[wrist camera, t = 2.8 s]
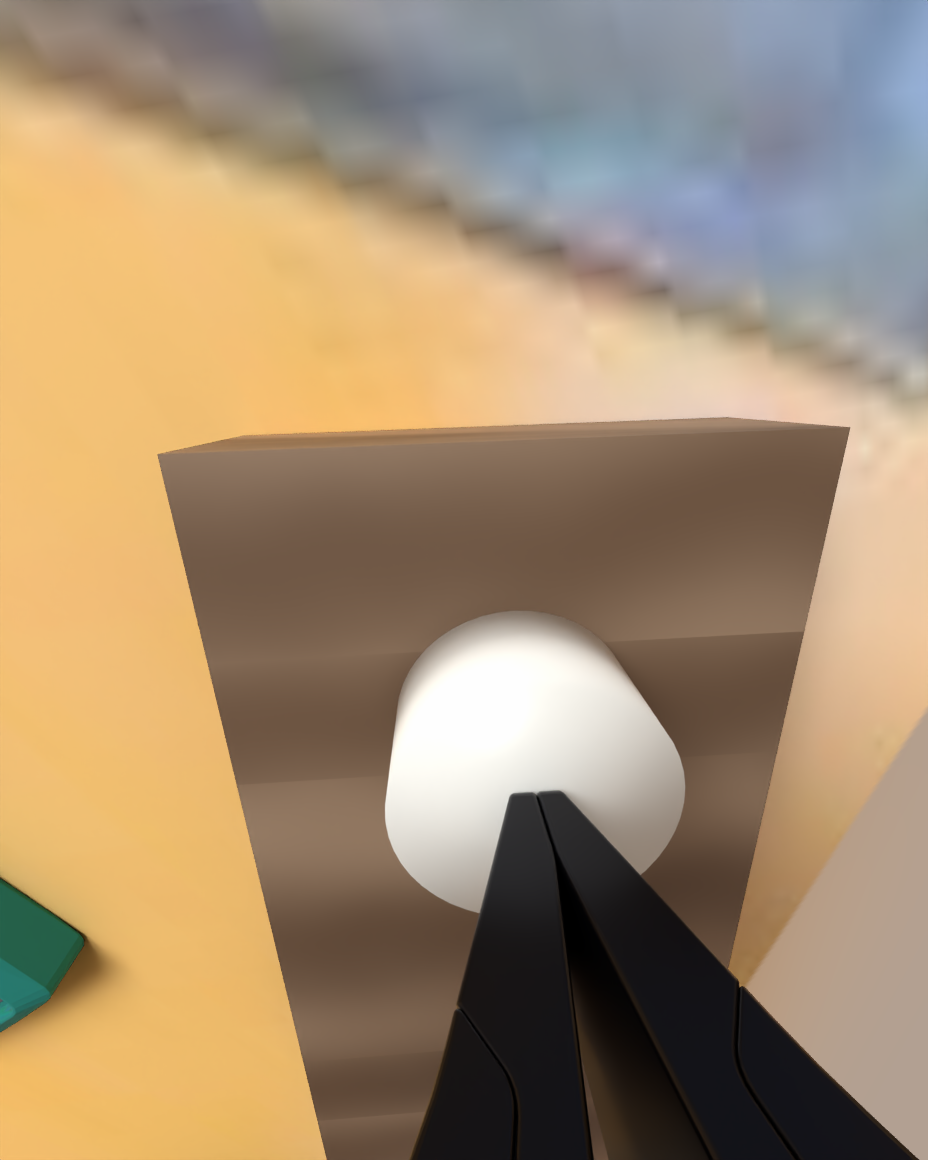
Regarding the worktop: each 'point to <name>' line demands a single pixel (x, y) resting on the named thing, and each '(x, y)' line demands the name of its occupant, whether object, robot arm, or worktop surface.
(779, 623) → the brown wooden board
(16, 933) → the digital multimeter
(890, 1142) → the robot arm
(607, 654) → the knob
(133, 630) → the worktop surface
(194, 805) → the worktop surface
